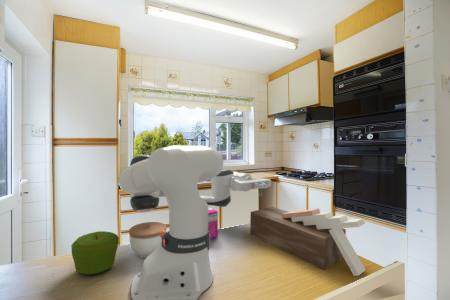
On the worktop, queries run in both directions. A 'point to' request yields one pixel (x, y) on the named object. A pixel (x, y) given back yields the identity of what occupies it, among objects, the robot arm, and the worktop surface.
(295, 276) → the worktop surface
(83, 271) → the apple
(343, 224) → the domino
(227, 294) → the worktop surface
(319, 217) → the domino
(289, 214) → the domino
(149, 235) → the lidded bowl
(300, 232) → the domino stand
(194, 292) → the robot arm
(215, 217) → the supplement box
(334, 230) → the domino
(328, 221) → the domino
